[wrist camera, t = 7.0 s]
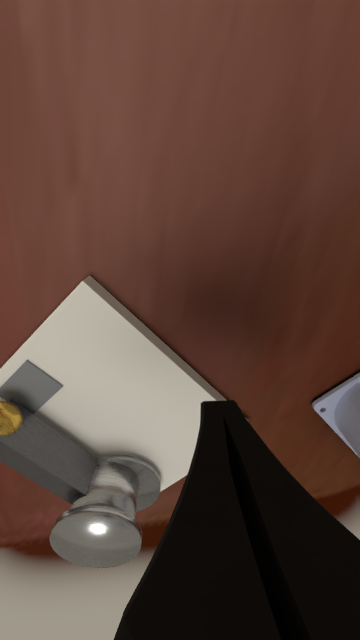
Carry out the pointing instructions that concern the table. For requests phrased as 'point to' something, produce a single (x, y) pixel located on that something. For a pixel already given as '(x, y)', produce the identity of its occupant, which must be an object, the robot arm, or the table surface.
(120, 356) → the stand
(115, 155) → the table surface
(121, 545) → the capstan
